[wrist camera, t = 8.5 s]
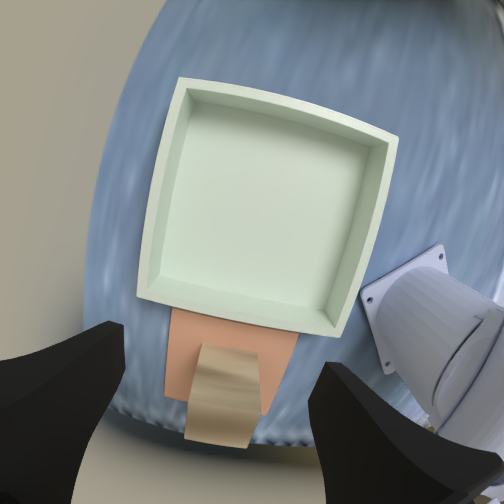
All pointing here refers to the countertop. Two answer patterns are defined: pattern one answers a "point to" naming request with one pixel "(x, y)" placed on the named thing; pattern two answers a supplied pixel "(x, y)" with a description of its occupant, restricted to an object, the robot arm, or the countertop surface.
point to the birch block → (224, 397)
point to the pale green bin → (263, 208)
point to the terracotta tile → (229, 335)
